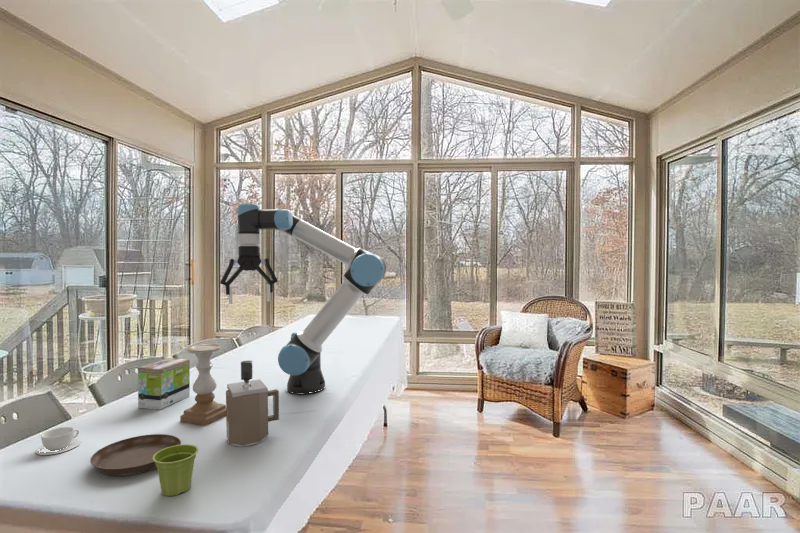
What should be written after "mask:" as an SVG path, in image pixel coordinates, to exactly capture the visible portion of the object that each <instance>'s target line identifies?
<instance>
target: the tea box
mask: <svg viewBox="0 0 800 533" xmlns="http://www.w3.org/2000/svg"><path fill="white" fill-rule="evenodd" d="M190 363H191V362H190V359H188V358H187V359H185V358H174V357H173V358H171V357H168V358H164V359H161V360H158V361H155V362H152V363H149V364H146V365H145V364H144V365H142V366H139V367H138V368H137V370H138V372H137V373H138V374H137V375H138V377H137V381H138V382H137V383H138V384H137V386H138V387H137V393H138V394H137V398H138V399H137V407H138V408H141V409H149V410H150V409H151V410H161V411H162V410H163V409H164V408H167V407H169V406H171V405H172V404H173V405H174V404H175V403H177V402H180V401H182V400H184V399H186V398H189V397H190V391H191V390H190V384H191V383H190V380H191V379H190V374H191V372H190V368H191V367H190V366H191V364H190Z"/></svg>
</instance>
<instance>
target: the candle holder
mask: <svg viewBox="0 0 800 533" xmlns="http://www.w3.org/2000/svg"><path fill="white" fill-rule="evenodd" d="M220 349H221V345H220V344H217V343H216V344H215V343H204V344H196V345H192V346H188V348H187V349H186V351H187V353H189V354H194V355H195V356H196V358H197V360H198V362H197V364H196V365H195V369H197V372H198V375H197V378H196V379H195V381H194V382H193V384H192V391H193V393H195V394H196V395H195V397H194V401H195V404H192V406H191V407H189V408H187V409H185V410H184V411H183V414H182V415H180V416H179V419H180V420H179V421H180V423H181V422H182V423H186V424H192V425H193V424H194V425H200V426H208V425H211V424H212V423H215V422H216V421H218V420H221V419H222V418H224V417H226V404H223V403H218V402H217V401H215V400H214V399H215V397H216V395H215V393H214V391H215V390H216V389H217V382H216V380H215V379H214V377H213V376H212V374H211V370H212V367H213V365H214V364H213V363H212V362H211V357H212V355H213V354H214V352H218V351H220Z"/></svg>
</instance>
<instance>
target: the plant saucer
mask: <svg viewBox="0 0 800 533" xmlns="http://www.w3.org/2000/svg"><path fill="white" fill-rule="evenodd" d="M175 445H182V440H181V439H180V438H179V437H177V436H175V435H170V434H164V433H159V434H158V433H156V434H155V433H153V434H145V435H137V436H133V437H129V438H124V439H121V440H118V441H115V442H112V443H110V444H107V445H106V446H104V447H102V448H100V449H98V450H97V451H95V452H94V453H93V454H92V456H91V457H90V459H89V462H90V464H91V466H93V467H94V469H96V470H97V471H99V472H101V473H103V474H105V475H108V476H116V477H120V476H121V477H123V476H131V475H137V474H142V473H145V472H148V471H150V470H153V469H157V467H156V464H155V462H154V461H153V456H154V454H155V453H157V452H158V451H160V450H162V449H165V448H167V447H171V446H175Z"/></svg>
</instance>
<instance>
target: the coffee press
mask: <svg viewBox="0 0 800 533" xmlns="http://www.w3.org/2000/svg"><path fill="white" fill-rule="evenodd" d="M226 388H227V389H226V390H225V405H226V416H225V419H226V439H227V444H228V445H229V446H232V447H244V446H245V447H251V446H254V444H255V445H258V444H261V443H262V442H263V440H264V441H265V440H266V439H267V438H268V436H269V422H275V421H279V420H280V403H279V402H280V400H279V399H280V397H279V396H280V395H279V394H280V391H279V390H278V389H276V388H275V389H271V390H268V387H267V386H266V384H264V382H263V381H262V380H261V379H260V378H259V379H253V380H252V379H251V380H250V387H245V388H244V381H240V382H232V383H227V384H226ZM244 395H245V396H244ZM269 397H272V399H273V400H272V411H273V412H272V414H270V415H269ZM257 443H258V444H257Z"/></svg>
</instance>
